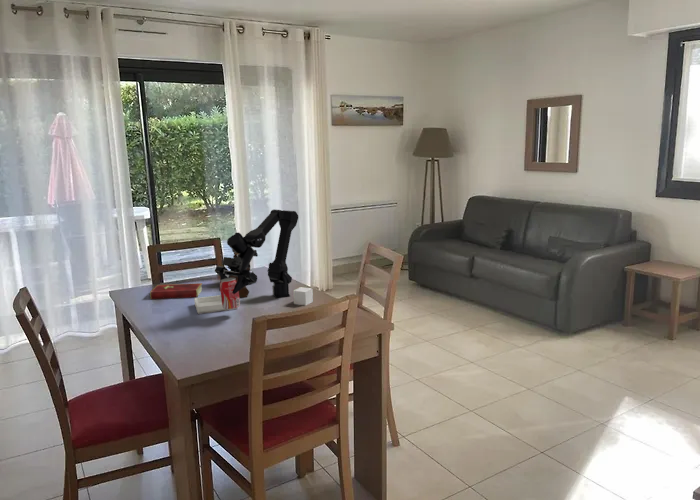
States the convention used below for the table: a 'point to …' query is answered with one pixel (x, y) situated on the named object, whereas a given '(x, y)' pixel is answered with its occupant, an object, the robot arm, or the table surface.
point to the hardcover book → (176, 291)
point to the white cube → (303, 296)
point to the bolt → (243, 292)
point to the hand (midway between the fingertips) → (226, 292)
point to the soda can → (229, 294)
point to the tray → (209, 304)
